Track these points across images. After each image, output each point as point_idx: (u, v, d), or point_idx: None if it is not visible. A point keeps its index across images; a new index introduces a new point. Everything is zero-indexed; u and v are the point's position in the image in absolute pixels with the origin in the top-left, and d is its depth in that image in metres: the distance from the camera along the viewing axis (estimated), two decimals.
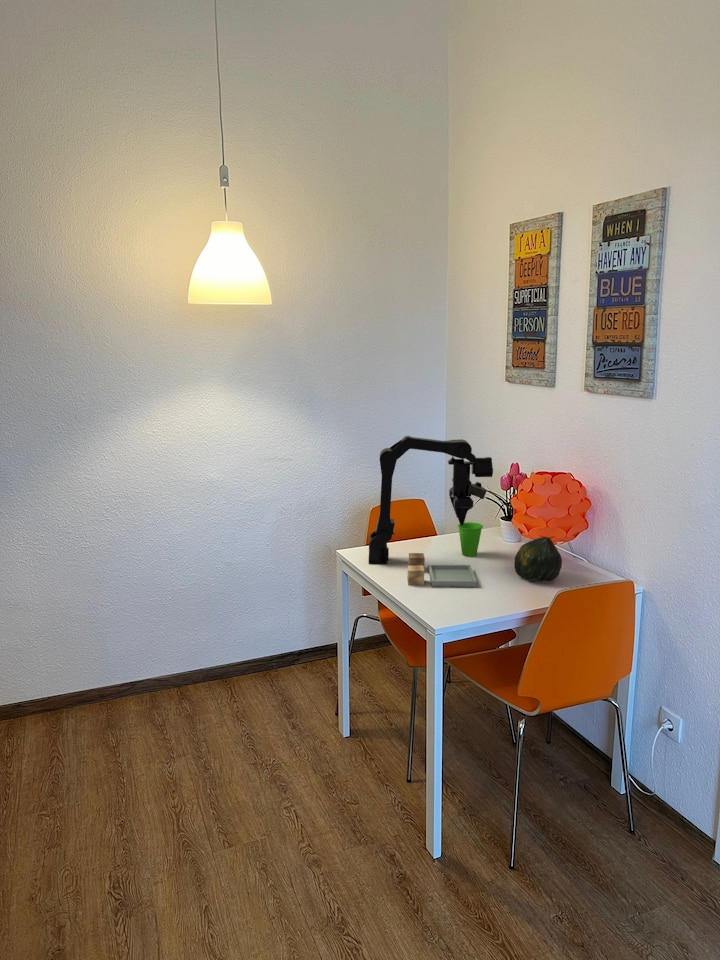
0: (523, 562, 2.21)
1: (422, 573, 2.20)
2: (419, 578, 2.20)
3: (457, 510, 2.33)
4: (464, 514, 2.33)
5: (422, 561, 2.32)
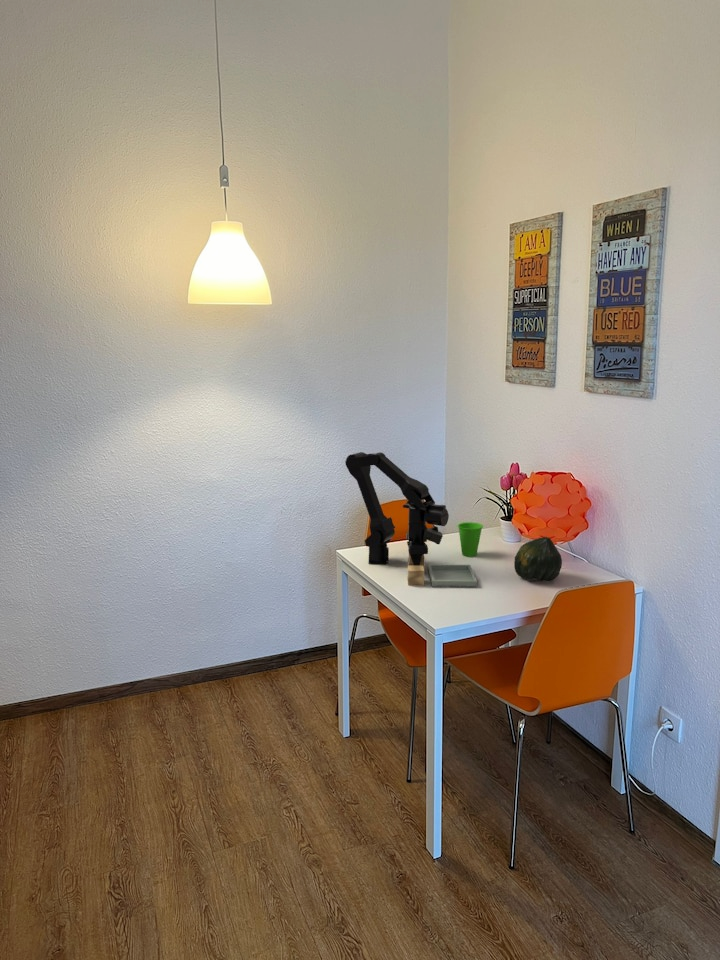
0: (523, 562, 2.21)
1: (422, 573, 2.20)
2: (419, 578, 2.20)
3: (411, 554, 2.30)
4: (419, 558, 2.31)
5: (422, 561, 2.32)
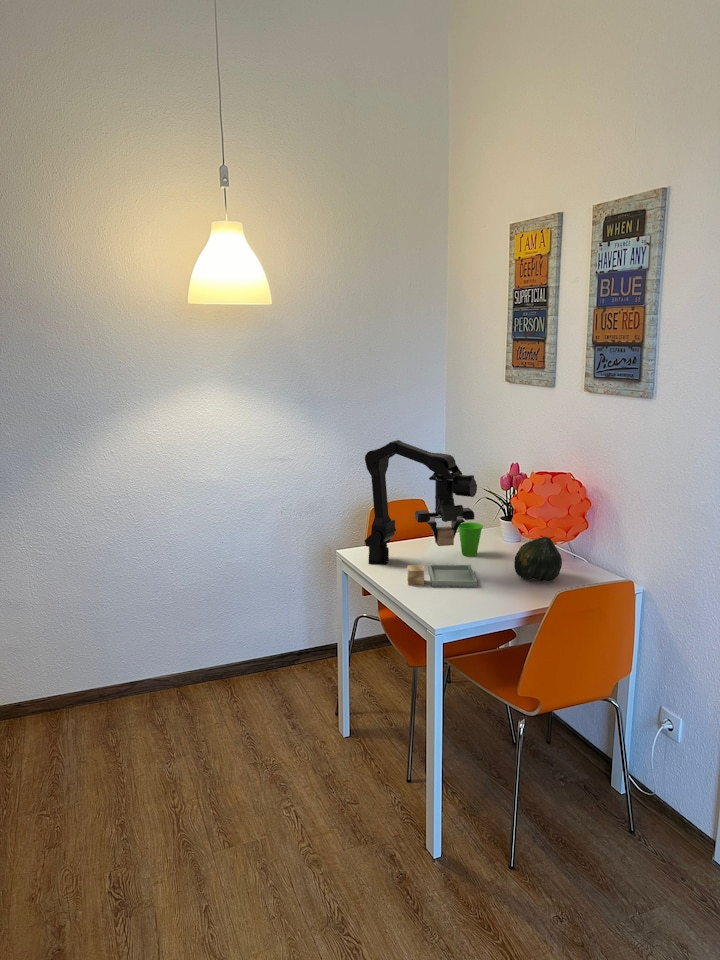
0: (523, 562, 2.21)
1: (422, 573, 2.20)
2: (419, 578, 2.20)
3: (429, 523, 2.28)
4: (432, 530, 2.26)
5: (438, 534, 2.25)
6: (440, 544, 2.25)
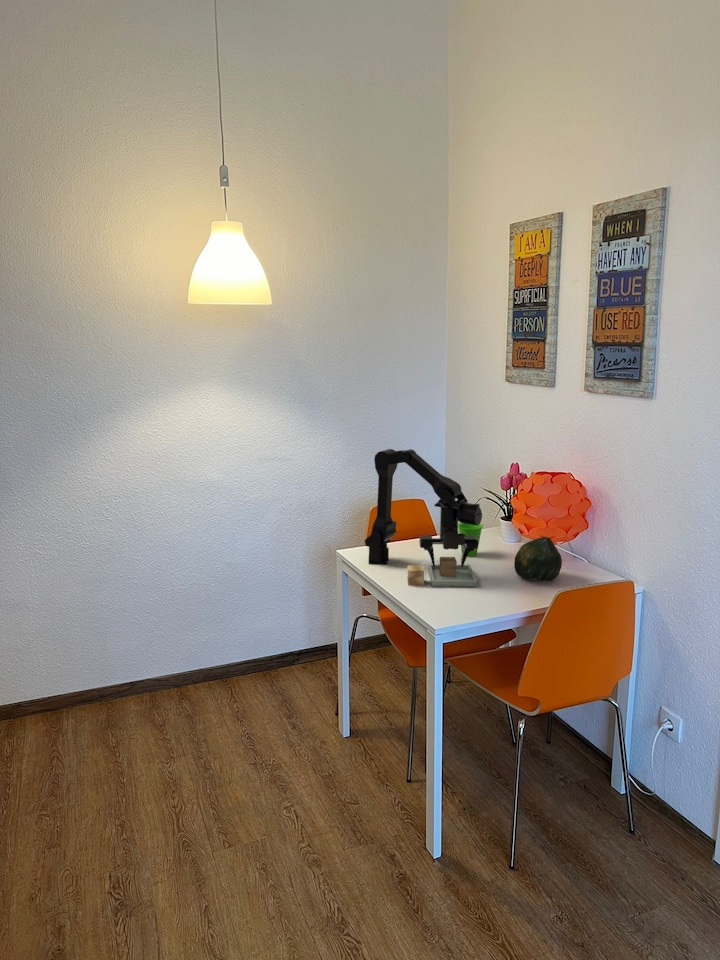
0: (523, 562, 2.21)
1: (422, 573, 2.20)
2: (419, 578, 2.20)
3: None
4: (430, 555, 2.28)
5: (440, 564, 2.27)
6: (442, 574, 2.27)
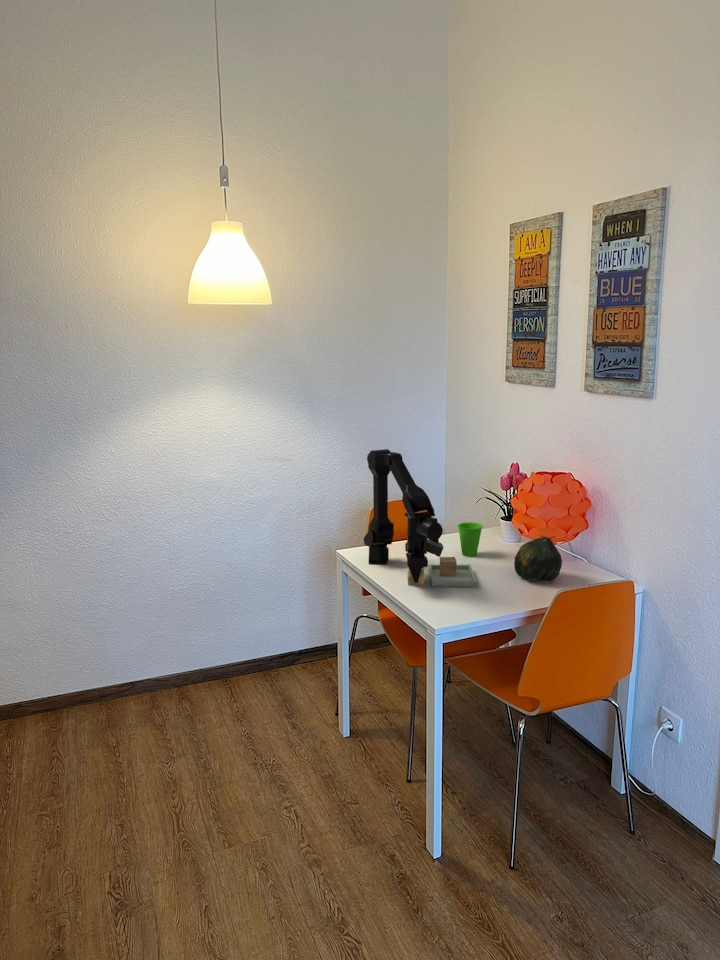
0: (523, 562, 2.21)
1: (422, 573, 2.20)
2: (419, 578, 2.20)
3: (410, 567, 2.17)
4: (418, 571, 2.18)
5: (440, 564, 2.27)
6: (442, 574, 2.27)
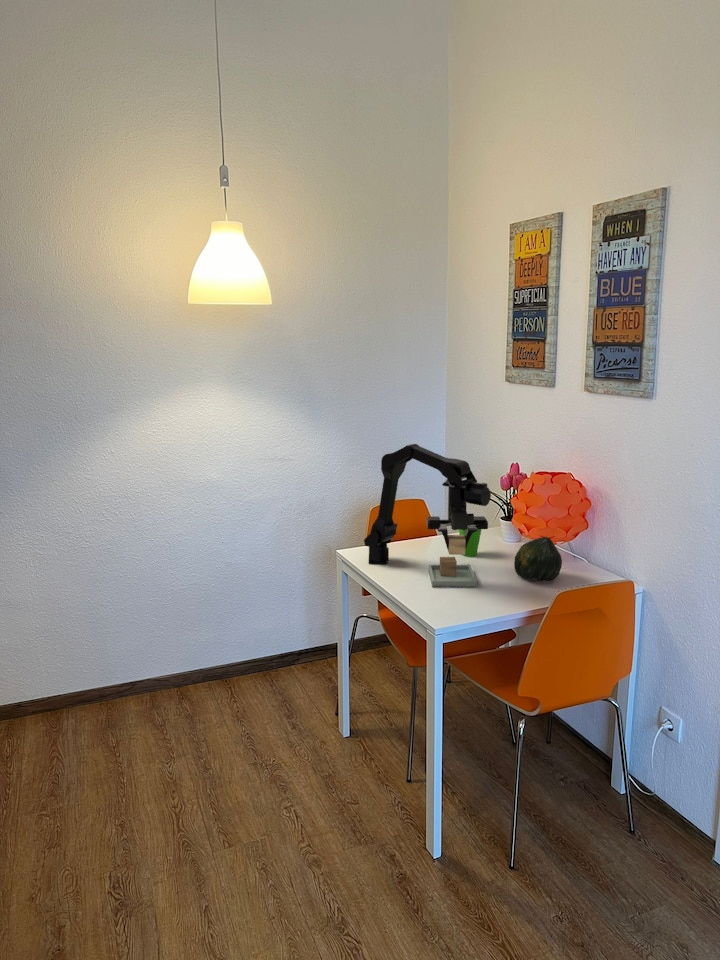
0: (523, 562, 2.21)
1: (449, 541, 2.18)
2: None
3: None
4: (444, 537, 2.19)
5: (440, 564, 2.27)
6: (442, 574, 2.27)
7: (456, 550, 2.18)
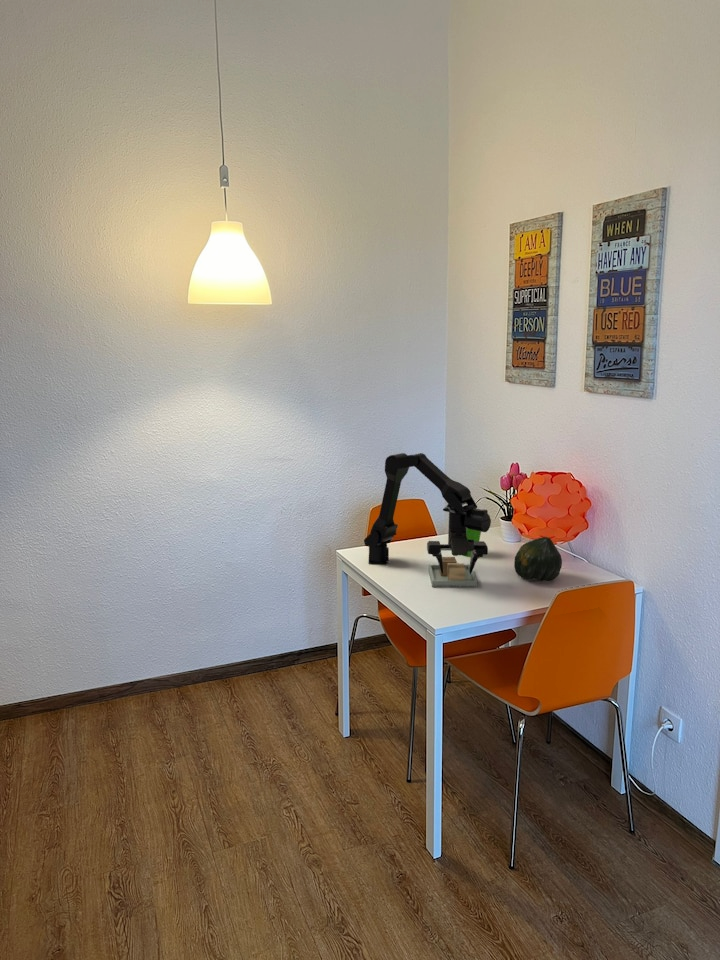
0: (523, 562, 2.21)
1: (449, 570, 2.20)
2: (448, 574, 2.22)
3: None
4: None
5: None
6: (442, 574, 2.27)
7: (456, 579, 2.20)
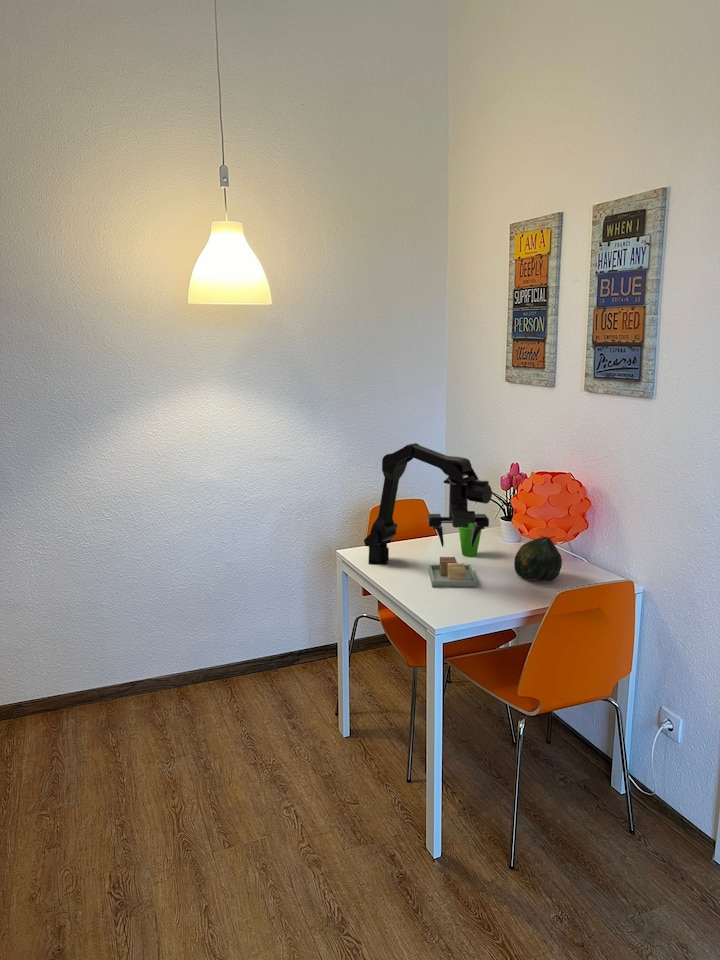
0: (523, 562, 2.21)
1: (449, 570, 2.20)
2: (448, 574, 2.22)
3: None
4: (439, 534, 2.19)
5: (440, 564, 2.27)
6: (442, 574, 2.27)
7: (456, 579, 2.20)
